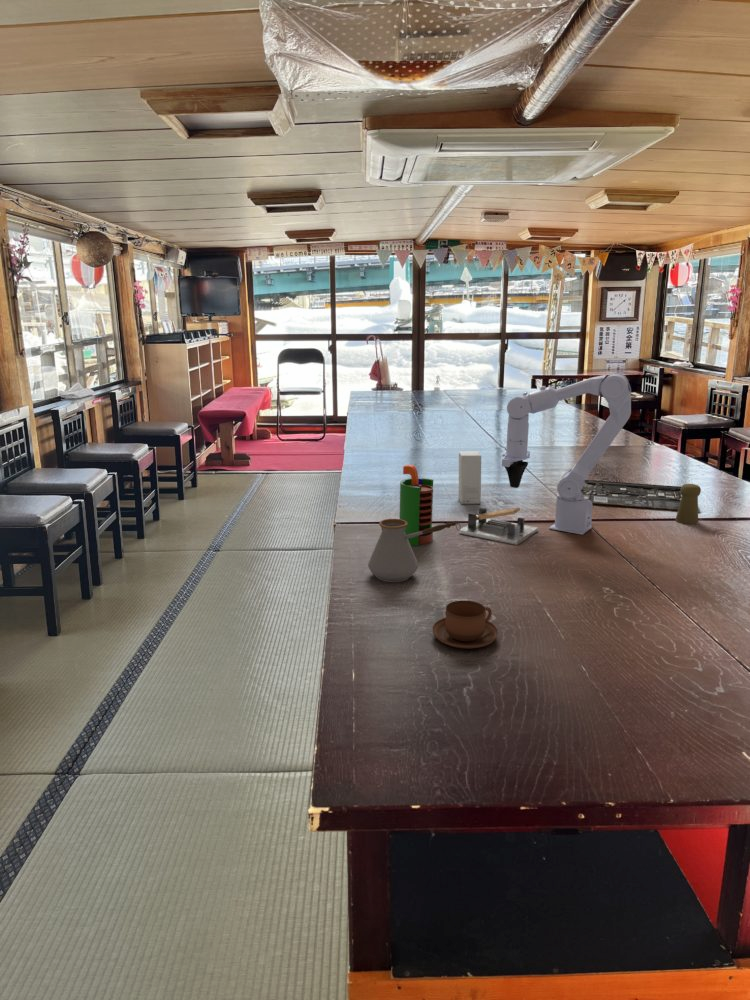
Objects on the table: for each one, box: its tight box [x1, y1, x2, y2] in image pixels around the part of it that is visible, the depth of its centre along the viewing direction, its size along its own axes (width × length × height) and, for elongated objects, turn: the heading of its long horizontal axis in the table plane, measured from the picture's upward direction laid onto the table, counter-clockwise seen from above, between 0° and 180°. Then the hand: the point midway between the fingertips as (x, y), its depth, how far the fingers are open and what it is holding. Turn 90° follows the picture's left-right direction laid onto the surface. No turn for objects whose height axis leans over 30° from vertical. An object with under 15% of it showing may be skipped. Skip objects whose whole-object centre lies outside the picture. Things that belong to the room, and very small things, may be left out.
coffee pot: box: [367, 518, 462, 583], centre depth 153 cm, size 21×12×15 cm, turn 66°
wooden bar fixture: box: [458, 507, 539, 546], centre depth 186 cm, size 17×14×5 cm
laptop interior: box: [581, 479, 700, 512], centre depth 221 cm, size 35×28×2 cm
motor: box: [399, 464, 434, 547], centre depth 179 cm, size 10×9×20 cm
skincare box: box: [458, 450, 482, 505], centre depth 216 cm, size 8×7×16 cm
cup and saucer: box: [432, 600, 499, 650], centre depth 126 cm, size 12×12×6 cm
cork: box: [674, 483, 702, 525], centre depth 194 cm, size 6×6×11 cm
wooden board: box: [476, 507, 521, 520], centre depth 186 cm, size 13×5×1 cm, turn 55°
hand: (514, 487), depth 193 cm, fingers closed
